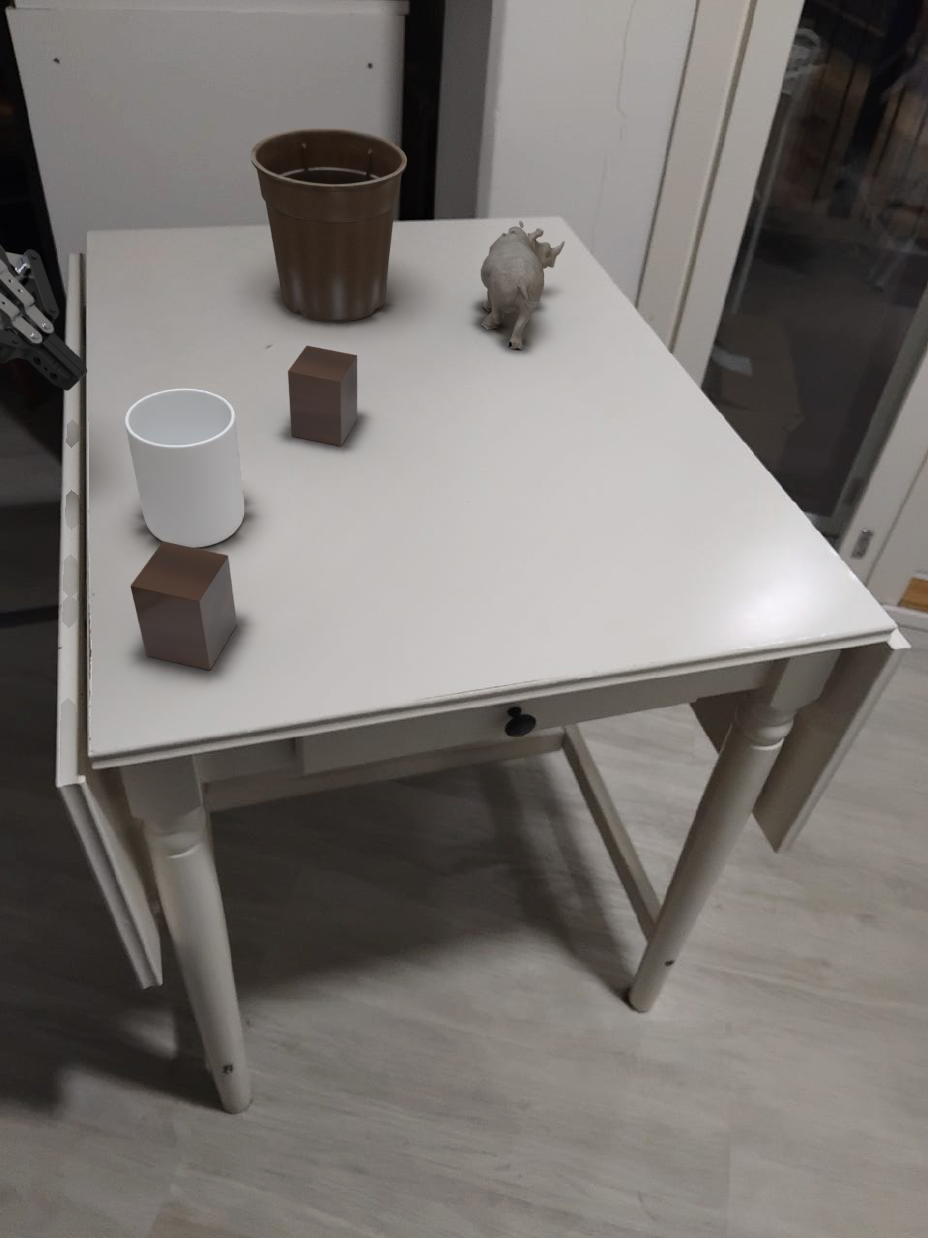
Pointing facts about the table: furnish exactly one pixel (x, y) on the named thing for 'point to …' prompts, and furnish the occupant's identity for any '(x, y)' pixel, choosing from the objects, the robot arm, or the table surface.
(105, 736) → the table surface
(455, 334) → the table surface
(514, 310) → the rhinoceros figurine
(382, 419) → the table surface
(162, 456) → the cup
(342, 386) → the block far
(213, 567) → the block near
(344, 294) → the plant pot
